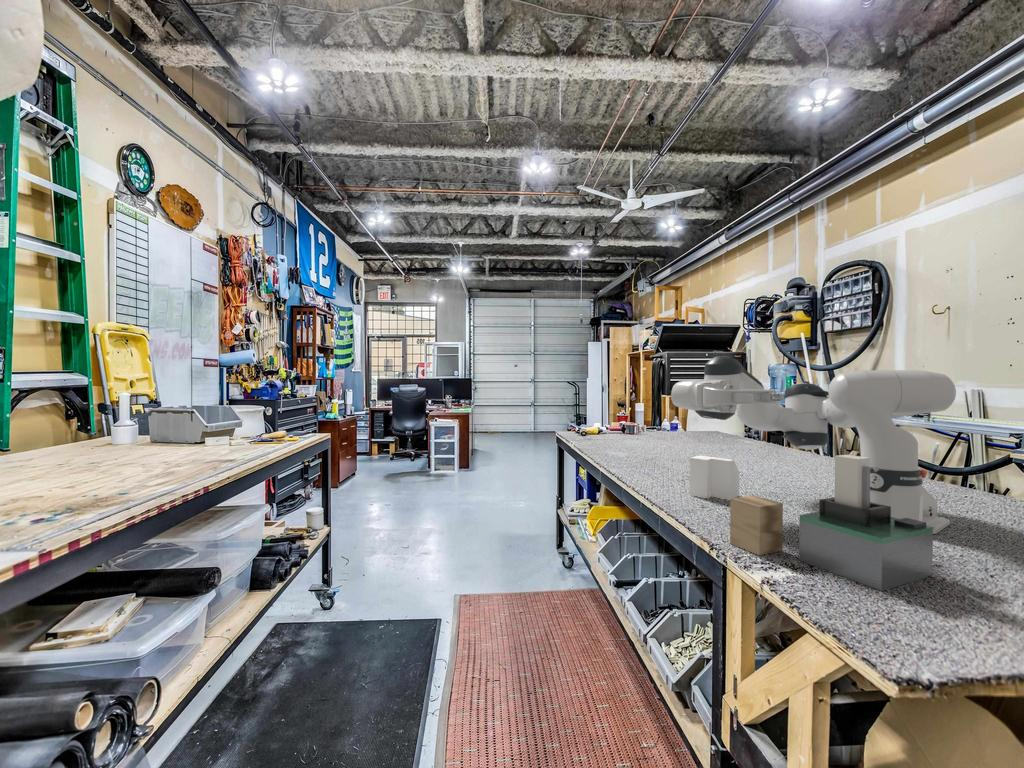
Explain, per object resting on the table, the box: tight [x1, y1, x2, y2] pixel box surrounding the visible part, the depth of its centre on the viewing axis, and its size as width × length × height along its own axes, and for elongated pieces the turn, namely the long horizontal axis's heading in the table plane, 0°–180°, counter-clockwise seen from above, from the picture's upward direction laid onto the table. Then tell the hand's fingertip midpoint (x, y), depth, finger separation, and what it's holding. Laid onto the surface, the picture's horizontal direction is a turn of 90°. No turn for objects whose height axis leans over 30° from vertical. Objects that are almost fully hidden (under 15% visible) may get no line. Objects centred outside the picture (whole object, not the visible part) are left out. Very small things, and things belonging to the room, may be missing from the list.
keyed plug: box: [834, 454, 870, 509], centre depth 84 cm, size 4×5×12 cm
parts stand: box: [729, 494, 784, 557], centre depth 93 cm, size 7×7×10 cm
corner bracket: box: [689, 454, 741, 501], centre depth 135 cm, size 11×11×12 cm
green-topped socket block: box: [798, 496, 934, 592], centre depth 83 cm, size 16×14×12 cm
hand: (768, 397), depth 103 cm, fingers open, 8 cm apart
